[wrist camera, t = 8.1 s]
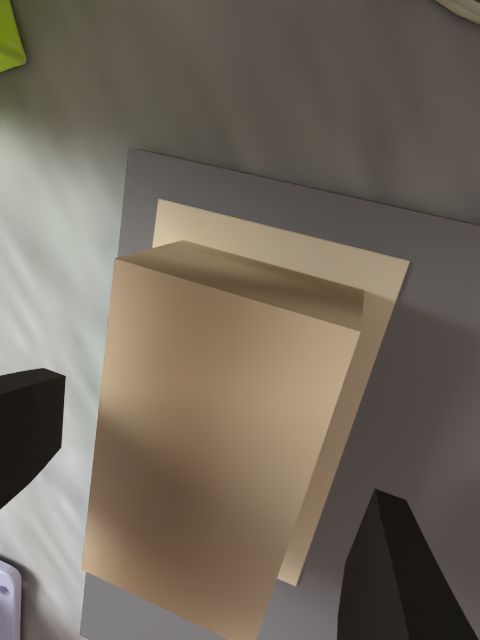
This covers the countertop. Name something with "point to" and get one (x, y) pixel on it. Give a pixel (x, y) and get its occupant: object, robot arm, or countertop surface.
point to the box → (9, 39)
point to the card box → (211, 426)
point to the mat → (359, 385)
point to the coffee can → (464, 8)
